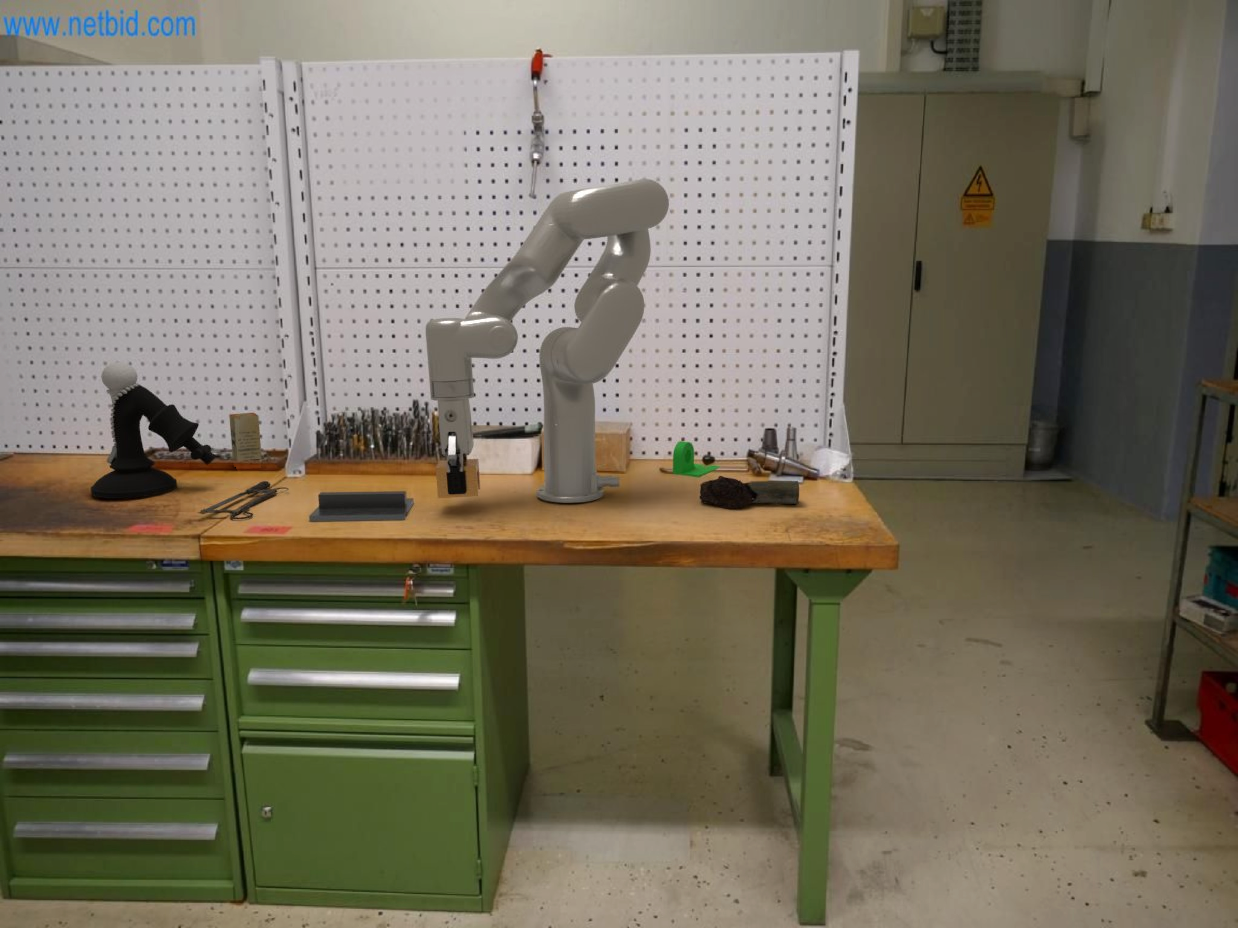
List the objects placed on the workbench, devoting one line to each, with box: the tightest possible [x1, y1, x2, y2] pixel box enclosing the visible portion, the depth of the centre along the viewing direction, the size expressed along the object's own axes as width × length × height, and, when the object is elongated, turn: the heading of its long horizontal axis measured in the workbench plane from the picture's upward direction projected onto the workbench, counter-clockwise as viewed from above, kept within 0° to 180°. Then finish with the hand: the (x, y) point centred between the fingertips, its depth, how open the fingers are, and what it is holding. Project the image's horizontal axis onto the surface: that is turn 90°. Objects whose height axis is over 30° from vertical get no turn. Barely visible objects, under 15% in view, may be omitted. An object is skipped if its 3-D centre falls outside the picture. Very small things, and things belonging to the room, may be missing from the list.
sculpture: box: [90, 361, 217, 499], centre depth 184 cm, size 15×24×25 cm, turn 92°
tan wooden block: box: [435, 458, 481, 499], centre depth 170 cm, size 7×6×6 cm
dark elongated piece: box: [698, 475, 800, 510], centre depth 172 cm, size 18×7×6 cm, turn 87°
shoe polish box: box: [228, 412, 263, 461], centre depth 204 cm, size 5×5×12 cm
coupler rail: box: [308, 490, 415, 522], centre depth 169 cm, size 16×12×4 cm
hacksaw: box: [197, 480, 289, 520], centre depth 175 cm, size 24×10×1 cm, turn 171°
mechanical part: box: [672, 440, 720, 478], centre depth 198 cm, size 12×6×8 cm, turn 148°
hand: (459, 488), depth 170 cm, fingers closed on tan wooden block, 6 cm apart
